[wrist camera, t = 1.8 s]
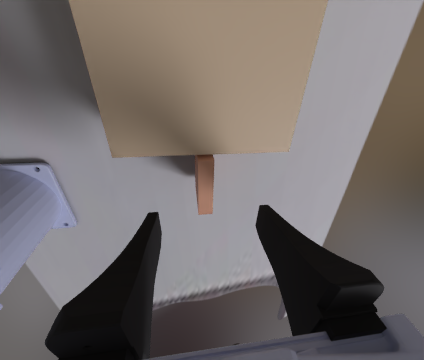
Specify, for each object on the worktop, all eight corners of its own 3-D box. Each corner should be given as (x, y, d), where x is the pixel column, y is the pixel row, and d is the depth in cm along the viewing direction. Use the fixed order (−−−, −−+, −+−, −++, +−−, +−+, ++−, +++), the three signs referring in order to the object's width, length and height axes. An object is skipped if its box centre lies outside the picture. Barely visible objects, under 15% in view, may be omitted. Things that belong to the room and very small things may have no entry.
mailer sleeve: (66, -163, 10) (-24, -332, 5) (310, -125, 11) (388, -232, 7) (128, 133, 18) (112, 157, 13) (265, 130, 19) (288, 151, 15)
